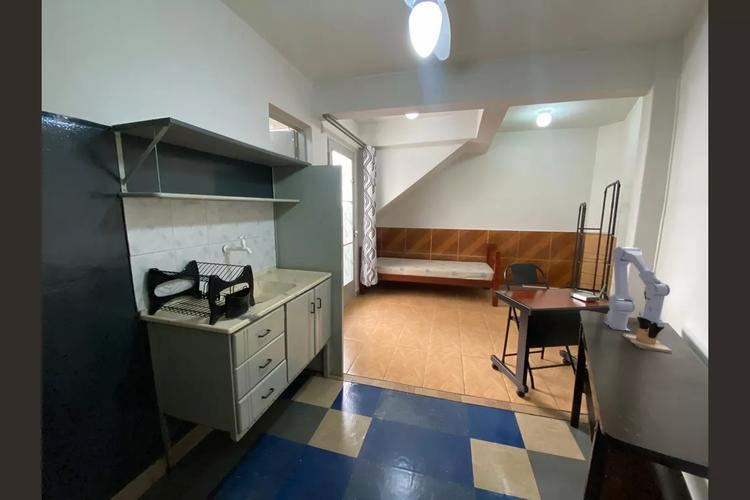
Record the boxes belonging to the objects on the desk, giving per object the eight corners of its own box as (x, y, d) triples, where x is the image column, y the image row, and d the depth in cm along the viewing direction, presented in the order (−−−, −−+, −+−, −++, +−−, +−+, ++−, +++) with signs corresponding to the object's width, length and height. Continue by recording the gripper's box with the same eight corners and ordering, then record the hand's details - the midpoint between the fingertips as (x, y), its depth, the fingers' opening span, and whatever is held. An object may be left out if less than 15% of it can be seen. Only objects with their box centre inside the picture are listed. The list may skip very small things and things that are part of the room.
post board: (622, 335, 141) (624, 324, 141) (651, 339, 138) (653, 328, 137) (639, 348, 128) (642, 336, 127) (671, 353, 125) (674, 341, 124)
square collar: (635, 337, 136) (638, 328, 135) (648, 339, 135) (650, 330, 134) (642, 342, 131) (644, 332, 131) (655, 344, 130) (657, 334, 129)
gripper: (633, 301, 138) (628, 327, 140) (653, 312, 125) (647, 340, 127) (650, 303, 136) (645, 329, 139) (672, 314, 123) (666, 343, 125)
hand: (647, 335), depth 133 cm, fingers open, 6 cm apart
